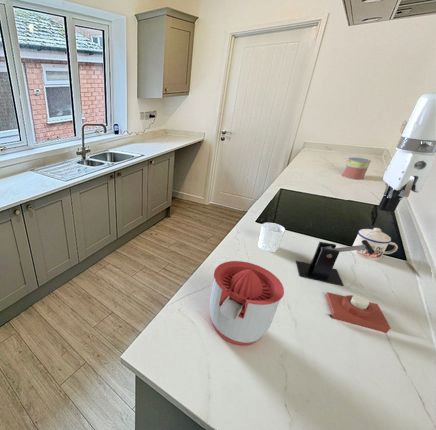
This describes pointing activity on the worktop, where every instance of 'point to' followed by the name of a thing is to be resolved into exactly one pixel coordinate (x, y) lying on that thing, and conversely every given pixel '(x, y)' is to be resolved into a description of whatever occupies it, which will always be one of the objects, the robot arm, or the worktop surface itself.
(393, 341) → the worktop surface
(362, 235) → the teacup with lid
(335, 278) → the bracket
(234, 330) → the citrus juicer
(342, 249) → the lever
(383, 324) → the button housing
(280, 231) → the white cup
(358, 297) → the button
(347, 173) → the canned food
